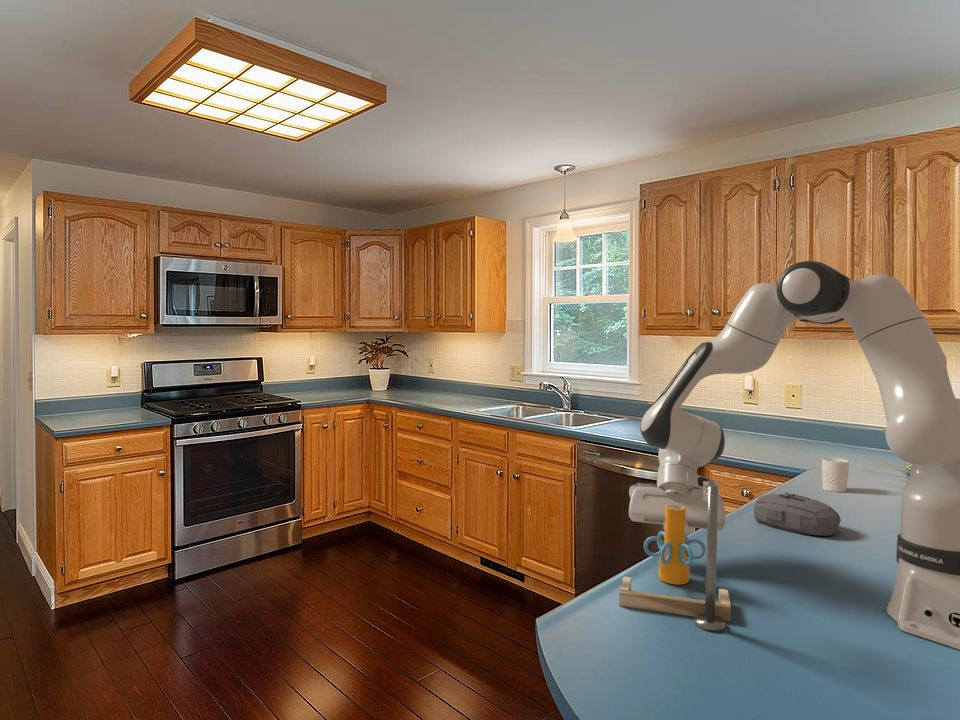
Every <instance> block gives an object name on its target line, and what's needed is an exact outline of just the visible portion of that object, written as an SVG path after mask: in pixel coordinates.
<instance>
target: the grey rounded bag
mask: <svg viewBox="0 0 960 720" xmlns="http://www.w3.org/2000/svg"><path fill="white" fill-rule="evenodd" d="M753 514H754V515H753V516H754V519H755V521H756V522H758V523H760V524H763V525H766V526H769V527H772V528H775V529H779V530H782V531H786V532H791V533H797V534H801V535H811V536H812V535H813V536H824V537H825V536H832V535H836V533H837V532H838V529H839V526H840V523H841V522H842V520H841V516H840V515H839V513H838V512H837V510H835V509H834V508H833V507H832V506H830V505H828V504H826V503H823V502H821V501H819V500H817V499H813V498H809V497H808V496H807V497H806V496H803V495H797V494H796V493H792V494H791V493H789V492H784V493H782V494H780V493H777V494H774V493H773V494H764V495H762V496H760V497H758V499H756V502H755V503H754V507H753Z"/></svg>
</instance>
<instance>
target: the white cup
mask: <svg viewBox="0 0 960 720" xmlns="http://www.w3.org/2000/svg"><path fill="white" fill-rule="evenodd" d="M849 467H850V461H849V460H848V459H845V458H839V457H822V458H821V478H822V479H821V480H822V484H821V485H822V486H821V487H822V489H823V490H824V491H826V492H827V491H828V492H831V493H834V492H835V493H845V492H847V486H848V485H847V483H848V478H849Z"/></svg>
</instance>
